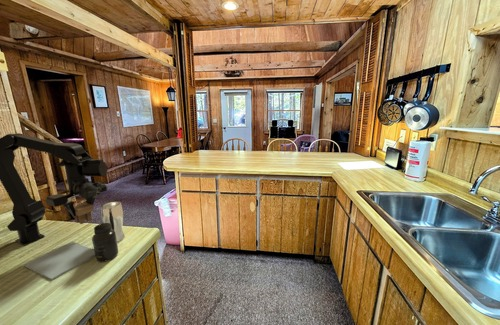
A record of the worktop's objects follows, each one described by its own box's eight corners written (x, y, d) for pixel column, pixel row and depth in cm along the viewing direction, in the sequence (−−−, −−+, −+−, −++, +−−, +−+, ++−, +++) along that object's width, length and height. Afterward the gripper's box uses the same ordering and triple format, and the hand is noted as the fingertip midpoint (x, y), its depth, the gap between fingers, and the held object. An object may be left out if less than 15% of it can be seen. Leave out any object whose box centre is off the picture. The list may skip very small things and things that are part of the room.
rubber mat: (23, 266, 69) (23, 264, 68) (72, 242, 81) (72, 241, 81) (52, 280, 63) (51, 278, 63) (99, 253, 76) (99, 251, 75)
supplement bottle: (105, 249, 78) (100, 220, 75) (122, 250, 77) (118, 221, 75) (90, 262, 71) (85, 230, 68) (109, 263, 71) (105, 231, 68)
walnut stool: (72, 222, 83) (69, 207, 81) (86, 216, 88) (84, 202, 86) (80, 225, 81) (78, 210, 79) (95, 219, 86) (93, 204, 84)
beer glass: (116, 245, 80) (111, 209, 77) (101, 242, 82) (95, 207, 78) (129, 235, 87) (125, 202, 84) (115, 233, 88) (111, 200, 85)
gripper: (59, 186, 69) (67, 228, 72) (113, 173, 86) (118, 207, 89) (40, 182, 73) (49, 222, 76) (96, 170, 90) (101, 203, 93)
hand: (82, 213), depth 84 cm, fingers closed on walnut stool, 5 cm apart
